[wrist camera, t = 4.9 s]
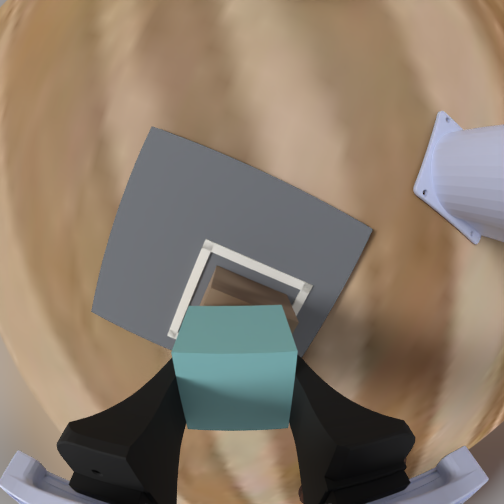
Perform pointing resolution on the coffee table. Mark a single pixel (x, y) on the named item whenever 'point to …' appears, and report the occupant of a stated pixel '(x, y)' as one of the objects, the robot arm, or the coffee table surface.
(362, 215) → the coffee table surface
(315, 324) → the grey flat plate
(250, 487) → the coffee table surface
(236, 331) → the teal block
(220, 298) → the walnut block
